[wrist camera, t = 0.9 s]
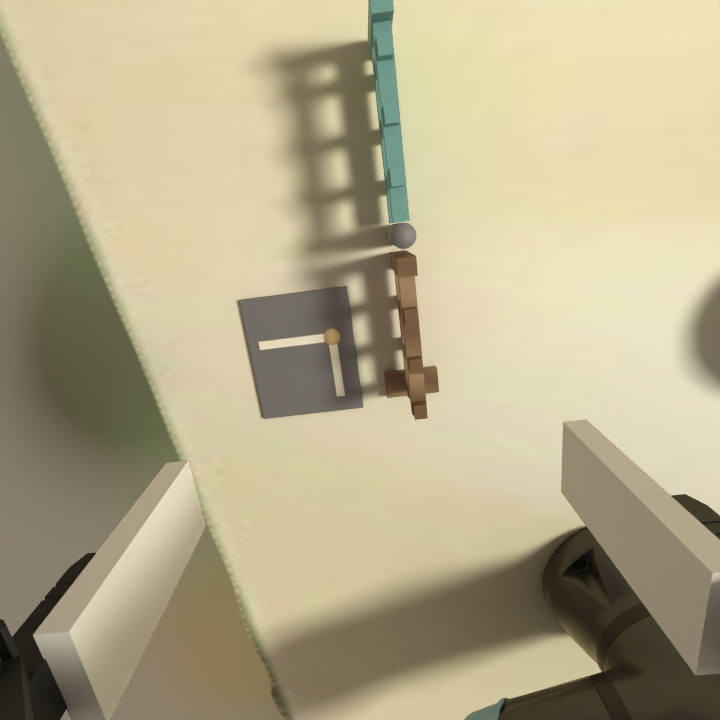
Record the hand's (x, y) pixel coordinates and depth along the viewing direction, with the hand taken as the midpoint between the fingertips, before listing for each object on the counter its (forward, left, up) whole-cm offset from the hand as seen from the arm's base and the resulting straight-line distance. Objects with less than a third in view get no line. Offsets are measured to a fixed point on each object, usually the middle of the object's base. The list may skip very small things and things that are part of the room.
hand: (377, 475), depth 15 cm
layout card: (-3, +7, -27) cm, 28 cm away
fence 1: (+14, -3, -27) cm, 31 cm away
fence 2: (-1, -3, -27) cm, 28 cm away
